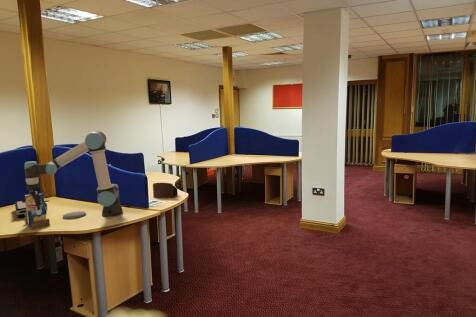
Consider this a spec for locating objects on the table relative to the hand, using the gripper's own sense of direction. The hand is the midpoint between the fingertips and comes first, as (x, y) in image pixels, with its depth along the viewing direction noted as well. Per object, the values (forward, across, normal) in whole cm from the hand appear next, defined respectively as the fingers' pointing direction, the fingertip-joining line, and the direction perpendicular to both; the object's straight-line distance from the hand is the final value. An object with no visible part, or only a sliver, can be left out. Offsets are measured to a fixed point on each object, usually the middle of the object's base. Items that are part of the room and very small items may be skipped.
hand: (36, 212), depth 250 cm
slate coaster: (+9, -1, +26) cm, 28 cm away
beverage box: (+9, 0, 0) cm, 9 cm away
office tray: (+10, -42, +7) cm, 43 cm away
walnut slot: (+9, 0, 0) cm, 9 cm away
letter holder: (+9, +3, +105) cm, 106 cm away
